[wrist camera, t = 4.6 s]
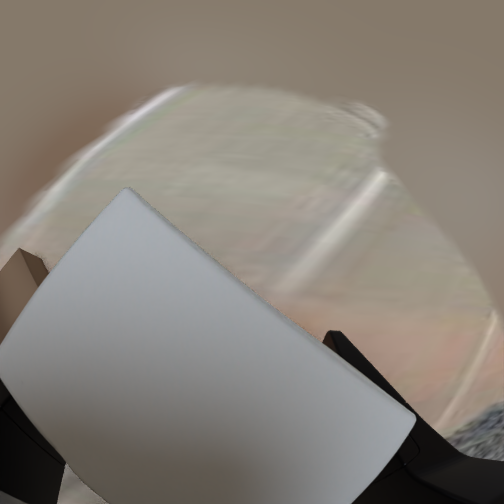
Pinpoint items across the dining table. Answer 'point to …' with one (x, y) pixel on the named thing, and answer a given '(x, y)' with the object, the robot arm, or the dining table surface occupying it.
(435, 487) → the robot arm
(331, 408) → the skincare box
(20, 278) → the walnut block
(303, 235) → the dining table surface
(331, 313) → the dining table surface
